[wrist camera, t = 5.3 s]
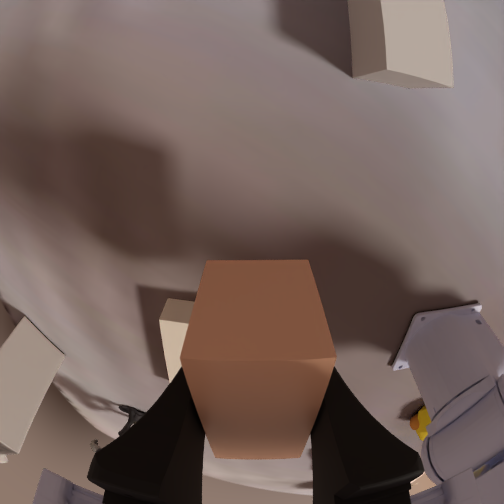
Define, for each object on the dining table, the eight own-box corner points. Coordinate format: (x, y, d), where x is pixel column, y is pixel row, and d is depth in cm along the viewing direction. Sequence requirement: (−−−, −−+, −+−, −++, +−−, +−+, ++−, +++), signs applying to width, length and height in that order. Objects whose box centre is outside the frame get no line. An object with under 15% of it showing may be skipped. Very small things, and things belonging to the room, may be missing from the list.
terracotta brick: (308, 259, 11) (336, 357, 7) (292, 379, 15) (300, 457, 10) (206, 260, 11) (179, 358, 7) (222, 380, 15) (215, 458, 10)
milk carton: (13, 331, 26) (-48, 434, 9) (25, 314, 23) (-50, 436, 7) (49, 366, 28) (0, 473, 12) (66, 355, 26) (9, 483, 10)
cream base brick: (269, 305, 22) (270, 332, 19) (252, 388, 28) (252, 411, 25) (169, 294, 22) (159, 319, 19) (179, 380, 27) (173, 402, 25)
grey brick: (398, -11, 10) (434, -34, 5) (407, 88, 13) (453, 88, 9) (343, -25, 10) (368, -58, 5) (351, 78, 13) (386, 69, 9)
